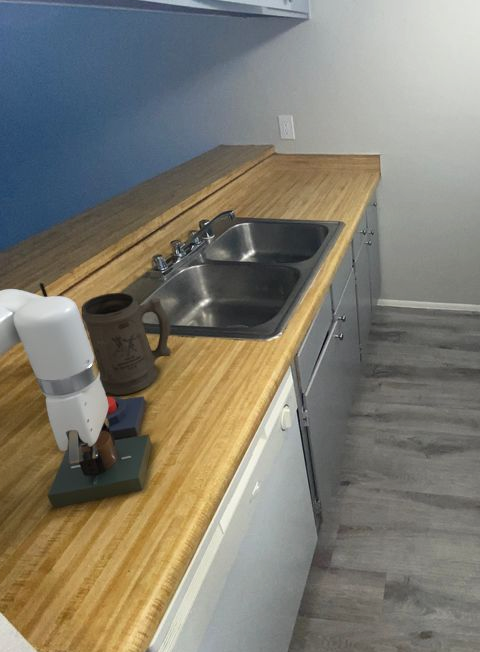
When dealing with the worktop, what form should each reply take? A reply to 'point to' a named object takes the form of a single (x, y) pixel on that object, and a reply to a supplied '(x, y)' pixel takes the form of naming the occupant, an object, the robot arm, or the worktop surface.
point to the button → (111, 405)
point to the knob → (105, 449)
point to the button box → (126, 417)
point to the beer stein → (124, 341)
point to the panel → (103, 475)
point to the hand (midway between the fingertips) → (100, 458)
